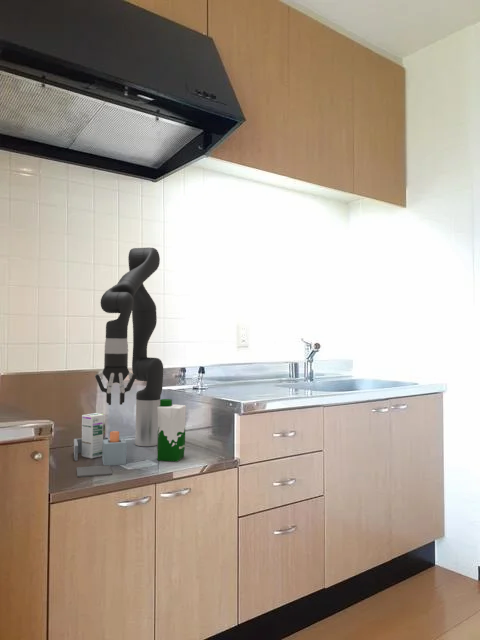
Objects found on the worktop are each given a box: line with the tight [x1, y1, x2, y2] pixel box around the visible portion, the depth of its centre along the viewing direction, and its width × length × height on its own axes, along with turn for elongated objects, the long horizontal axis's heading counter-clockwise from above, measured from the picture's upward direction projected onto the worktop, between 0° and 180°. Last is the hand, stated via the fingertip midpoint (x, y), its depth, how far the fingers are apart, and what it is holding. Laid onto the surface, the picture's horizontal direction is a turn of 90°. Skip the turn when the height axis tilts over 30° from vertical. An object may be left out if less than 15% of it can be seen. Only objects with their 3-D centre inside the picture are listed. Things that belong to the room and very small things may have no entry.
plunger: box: [109, 430, 120, 443], centre depth 172 cm, size 3×3×6 cm
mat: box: [76, 464, 113, 478], centre depth 160 cm, size 10×10×1 cm
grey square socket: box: [101, 438, 128, 466], centre depth 172 cm, size 7×7×7 cm
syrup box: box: [81, 412, 106, 460], centre depth 181 cm, size 6×6×14 cm
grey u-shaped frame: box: [73, 436, 110, 462], centre depth 181 cm, size 12×12×5 cm
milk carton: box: [156, 398, 187, 463], centre depth 178 cm, size 9×9×20 cm
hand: (115, 404), depth 172 cm, fingers open, 3 cm apart
